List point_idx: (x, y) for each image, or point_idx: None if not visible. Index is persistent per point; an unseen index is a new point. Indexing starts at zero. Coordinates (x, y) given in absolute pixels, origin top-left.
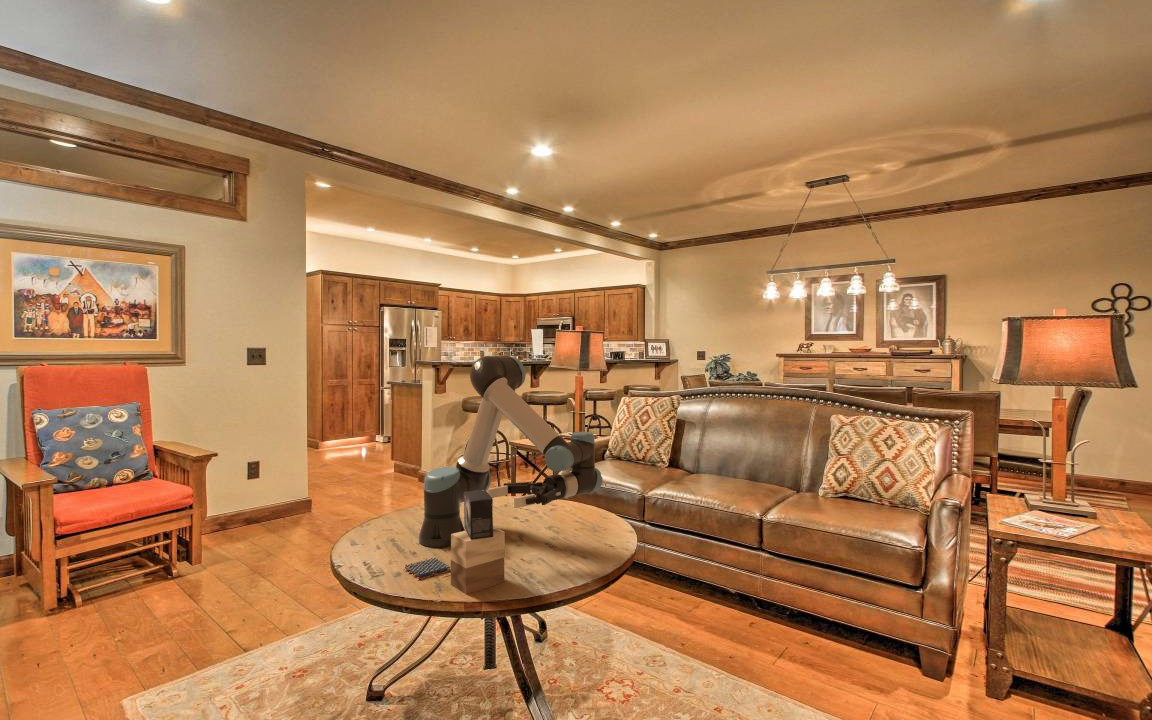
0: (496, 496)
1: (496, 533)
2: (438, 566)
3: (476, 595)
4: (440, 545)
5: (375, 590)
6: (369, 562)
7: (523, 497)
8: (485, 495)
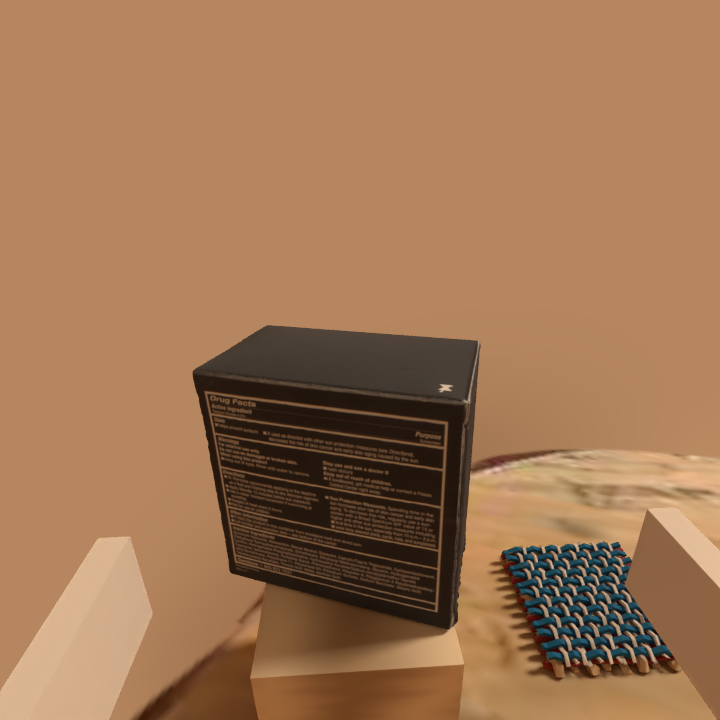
0: (695, 676)
1: (268, 617)
2: (581, 628)
3: None
4: None
5: (478, 472)
6: (703, 500)
7: (33, 650)
8: (288, 364)
